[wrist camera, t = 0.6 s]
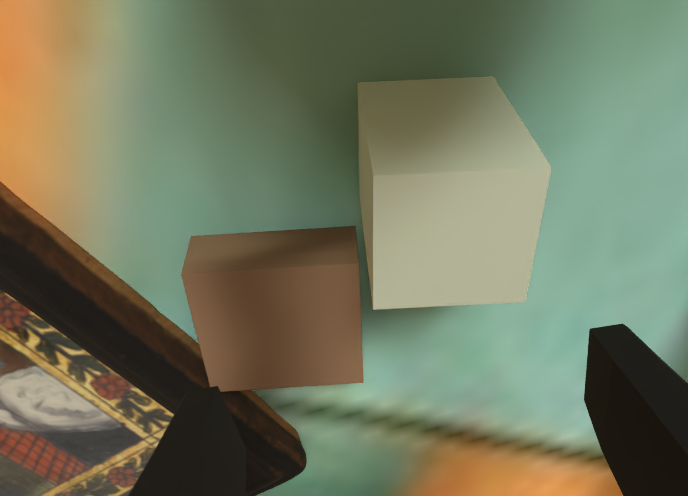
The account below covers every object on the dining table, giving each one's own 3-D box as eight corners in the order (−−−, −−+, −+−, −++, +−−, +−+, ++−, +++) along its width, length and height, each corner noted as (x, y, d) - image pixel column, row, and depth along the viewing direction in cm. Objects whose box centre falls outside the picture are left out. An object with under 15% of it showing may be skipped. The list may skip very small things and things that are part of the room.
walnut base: (354, 220, 22) (358, 263, 20) (359, 336, 25) (363, 382, 23) (192, 230, 21) (181, 274, 20) (219, 345, 25) (211, 392, 23)
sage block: (492, 75, 18) (551, 167, 14) (479, 192, 21) (525, 301, 16) (357, 81, 18) (373, 175, 14) (359, 197, 21) (373, 309, 16)
